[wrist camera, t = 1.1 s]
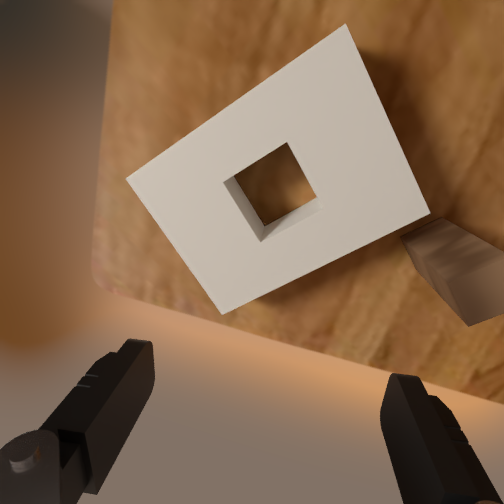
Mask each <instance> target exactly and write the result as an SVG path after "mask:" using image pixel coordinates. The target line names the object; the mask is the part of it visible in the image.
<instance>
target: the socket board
mask: <svg viewBox="0 0 504 504" xmlns="http://www.w3.org/2000/svg"><path fill="white" fill-rule="evenodd" d="M286 142H287V143H288V145H289V146H290V148H291V150H292V152H293V154H294V156H295V157H296V159H297V161H298V163H299V165H300V167H301V168H302V170H303V172H304V174H305V176H306V178H307V179H308V181H309V183H310V185H311V187H312V189H313V190H314V192H315V194H316V196H317V198H315V199H313V200H311V201H310V202H308V203H306V204H304V205H302V206H301V207H299V208H297V209H295V210H293V211H292V212H290V213H288V214H286V215H285V216H283V217H281V218H279V219H277V220H276V221H274V222H272V223H270V224H268V225H267V226H264V225H263V223H262V222H261V220H260V218H259V217H258V215H257V213H256V212H255V210H254V208H253V207H252V205H251V203H250V202H249V200H248V199H247V197H246V195H245V194H244V192H243V190H242V189H241V187H240V185H239V184H238V182H237V181H236V179H235V177H234V176H233V175H235V174H237V173H238V172H240V171H241V170H243V169H245V168H246V167H248V166H249V165H251V164H253V163H254V162H256V161H257V160H259V159H261V158H262V157H264V156H265V155H267V154H268V153H270V152H272V151H273V150H275V149H276V148H278V147H280V146H281V145H283V144H284V143H286ZM126 180H127V181H128V183H129V184H130V185H131V187H132V188H133V190H134V191H135V193H136V194H137V195H138V197H139V198H140V200H141V201H142V202H143V204H144V205H145V207H146V208H147V209H148V211H149V212H150V214H151V215H152V217H153V218H154V219H155V221H156V222H157V224H158V225H159V226H160V228H161V229H162V231H163V232H164V233H165V235H166V236H167V238H168V239H169V241H170V242H171V243H172V245H173V246H174V248H175V249H176V250H177V252H178V253H179V255H180V256H181V257H182V259H183V260H184V262H185V263H186V265H187V266H188V267H189V269H190V270H191V272H192V273H193V274H194V276H195V277H196V279H197V280H198V281H199V283H200V284H201V286H202V287H203V288H204V290H205V291H206V293H207V294H208V296H209V297H210V298H211V300H212V301H213V303H214V304H215V305H216V307H217V308H218V310H219V311H220V312H221V314H222V315H223V314H225V313H227V312H229V311H231V310H233V309H235V308H237V307H240V306H242V305H244V304H246V303H248V302H250V301H252V300H254V299H256V298H258V297H260V296H262V295H264V294H266V293H268V292H270V291H272V290H274V289H276V288H278V287H281V286H283V285H285V284H287V283H289V282H291V281H293V280H295V279H297V278H299V277H301V276H303V275H305V274H307V273H309V272H311V271H313V270H315V269H317V268H319V267H321V266H324V265H326V264H328V263H330V262H332V261H334V260H336V259H338V258H340V257H342V256H344V255H346V254H348V253H350V252H352V251H354V250H356V249H358V248H360V247H362V246H365V245H367V244H369V243H371V242H373V241H375V240H377V239H379V238H381V237H383V236H385V235H387V234H389V233H391V232H393V231H395V230H397V229H399V228H401V227H403V226H405V225H408V224H410V223H412V222H414V221H416V220H418V219H420V218H422V217H424V216H426V215H428V214H430V211H429V209H428V207H427V204H426V202H425V200H424V198H423V195H422V193H421V191H420V189H419V186H418V184H417V182H416V180H415V177H414V175H413V173H412V171H411V169H410V166H409V164H408V162H407V160H406V157H405V155H404V153H403V151H402V148H401V146H400V144H399V142H398V139H397V137H396V135H395V133H394V131H393V128H392V126H391V124H390V122H389V119H388V117H387V115H386V113H385V110H384V108H383V106H382V104H381V101H380V99H379V97H378V95H377V93H376V90H375V88H374V86H373V84H372V81H371V79H370V77H369V75H368V72H367V70H366V68H365V66H364V63H363V61H362V59H361V57H360V55H359V52H358V50H357V48H356V46H355V43H354V41H353V39H352V37H351V34H350V32H349V30H348V28H347V25H346V24H344V25H343V26H341V27H340V28H338V29H337V30H336V31H334V32H333V33H331V34H330V35H329V36H327V37H326V38H324V39H323V40H321V41H320V42H319V43H317V44H316V45H314V46H313V47H312V48H310V49H309V50H307V51H306V52H304V53H303V54H302V55H300V56H299V57H297V58H296V59H295V60H293V61H292V62H290V63H289V64H287V65H286V66H285V67H283V68H282V69H280V70H279V71H277V72H276V73H275V74H273V75H272V76H270V77H269V78H268V79H266V80H265V81H263V82H262V83H260V84H259V85H258V86H256V87H255V88H253V89H252V90H251V91H249V92H248V93H246V94H245V95H243V96H242V97H241V98H239V99H238V100H236V101H235V102H234V103H232V104H231V105H229V106H228V107H226V108H225V109H224V110H222V111H221V112H219V113H218V114H217V115H215V116H214V117H212V118H211V119H209V120H208V121H207V122H205V123H204V124H202V125H201V126H200V127H198V128H197V129H195V130H194V131H192V132H191V133H190V134H188V135H187V136H185V137H184V138H182V139H181V140H180V141H178V142H177V143H175V144H174V145H173V146H171V147H170V148H168V149H167V150H165V151H164V152H163V153H161V154H160V155H158V156H157V157H156V158H154V159H153V160H151V161H150V162H148V163H147V164H146V165H144V166H143V167H141V168H140V169H139V170H137V171H136V172H134V173H133V174H131V175H130V176H129V177H127V178H126Z"/></svg>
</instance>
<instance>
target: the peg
mask: <svg viewBox="0 0 504 504" xmlns="http://www.w3.org/2000/svg"><path fill="white" fill-rule="evenodd" d="M401 239H402V242H403V244H404V246H405V248H406V250H407V252H408V254H409V256H410V258H411V260H412V262H413V264H414V266H415V268H416V270H417V271H418V272H419V273H420V274H421V276H422V277H423V278H424V279H425V280H426V281H427V282H428V283H429V284H430V285H431V286H432V288H433V289H434V290H435V291H436V292H437V293H438V294H439V295H440V296H441V297H442V298H443V300H444V301H445V302H446V303H447V304H448V305H449V306H450V307H451V308H452V309H453V310H454V311H455V313H456V314H457V315H458V316H459V317H460V318H461V319H462V320H463V321H464V322H465V323H466V325H467V326H468V327H469V326H472V325H474V324H477V323H480V322H482V321H485V320H488V319H490V318H493V317H496V316H498V315H501V314H503V313H504V252H503V251H501V250H499V249H498V248H496V247H494V246H492V245H491V244H489V243H487V242H485V241H483V240H482V239H480V238H478V237H476V236H475V235H473V234H471V233H469V232H467V231H466V230H464V229H462V228H460V227H458V226H457V225H455V224H453V223H451V222H450V221H448V220H446V219H444V218H442V217H441V218H439V219H437V220H435V221H432V222H430V223H428V224H426V225H424V226H422V227H420V228H418V229H416V230H414V231H412V232H410V233H407V234H405V235H403V236H401Z"/></svg>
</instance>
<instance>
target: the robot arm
mask: <svg viewBox="0 0 504 504" xmlns="http://www.w3.org/2000/svg"><path fill="white" fill-rule="evenodd" d="M154 381H155V371H154V357H153V345H152V342H151V341H145V340H137V339H128V340H127V341H126V342H125V343H124V344H123V346H122V347H121V348H120V349H119V351H118V352H117V353H115V352H110V353H108V354H106V355H105V356H104V357H102V358H100V359H99V360H97V361H96V362H95V363H94V364H93V365H92V367H91V368H90V369H89V370H88V371H87V373H86V375H85V376H83V377H82V378H81V380H80V381H79V382H78V383H77V386H76V387H74V388H73V389H72V390H71V391H70V393H69V394H68V395H67V396H66V397H65V399H64V400H63V401H62V402H61V403H60V405H59V406H58V407H57V408H56V409H55V410H54V412H53V413H52V414H51V415H50V416H49V417H48V419H47V420H46V421H45V422H44V423H43V425H42V426H41V427H40V428H39V429H38V430H33V431H30V432H26V433H24V434H21V435H19V436H17V437H15V438H14V439H12V440H11V441H10V442H8V443H7V444H5V445H4V446H3V447H2V448H1V449H0V504H77V502H78V500H79V498H80V496H81V495H82V493H83V492H84V493H90V494H95V495H97V494H98V492H99V490H100V488H101V486H102V484H103V483H104V481H105V479H106V477H107V475H108V473H109V471H110V469H111V468H112V466H113V464H114V462H115V460H116V458H117V456H118V455H119V453H120V451H121V449H122V447H123V445H124V443H125V441H126V440H127V438H128V436H129V434H130V432H131V430H132V429H133V427H134V425H135V423H136V421H137V419H138V417H139V415H140V414H141V412H142V410H143V408H144V406H145V404H146V402H147V400H148V399H149V397H150V395H151V393H152V390H153V386H154ZM380 421H381V429H382V432H383V436H384V439H385V442H386V446H387V449H388V453H389V456H390V459H391V463H392V466H393V470H394V473H395V476H396V480H397V483H398V487H399V490H400V493H401V497H402V500H403V503H404V504H503V502H502V500H501V499H500V497H499V495H498V493H497V491H496V490H495V488H494V486H493V484H492V483H491V481H490V479H489V477H488V475H487V474H486V472H485V470H484V468H483V467H482V465H481V463H480V461H479V459H478V458H477V456H476V454H475V452H474V450H473V449H472V447H471V445H469V444H468V440H467V438H466V436H465V435H464V433H463V431H461V427H460V425H459V424H458V422H457V420H456V418H455V417H454V415H453V413H452V411H451V410H450V409H449V408H448V407H447V406H446V405H445V404H444V403H443V402H442V401H441V400H440V399H439V398H438V397H437V396H432V395H428V393H427V391H426V389H425V388H424V385H423V383H422V382H421V380H420V378H419V377H418V376H412V375H404V374H396V373H392V374H391V375H390V377H389V381H388V384H387V388H386V391H385V395H384V399H383V402H382V406H381V411H380Z"/></svg>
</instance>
